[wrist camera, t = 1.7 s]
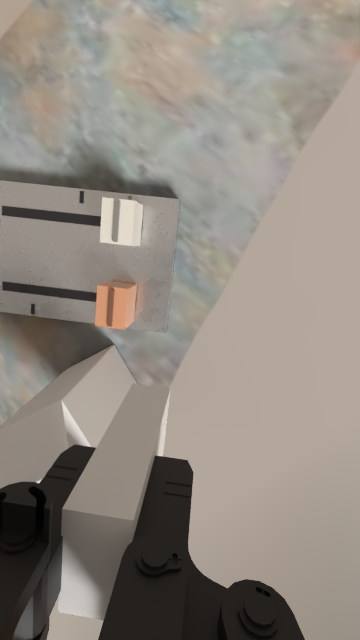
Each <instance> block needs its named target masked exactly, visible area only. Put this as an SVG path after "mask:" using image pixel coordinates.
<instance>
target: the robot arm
mask: <svg viewBox="0 0 360 640" xmlns="http://www.w3.org/2000/svg"><path fill="white" fill-rule="evenodd" d="M169 396H170V389H169V388H162V387H154V386H147V385H140V384H132V386H131V387H130V389H129V391H128V393H127V394H126V396H125V398H124V400H123V402H122V403H121V405H120V407H119V409H118V410H117V412H116V414H115V416H114V418H113V419H112V421H111V423H110V425H109V426H108V428H107V430H106V432H105V433H104V435H103V437H102V439H101V441H100V442H99V444H98V446H97V448H95V447H88V446H82V445H75V444H74V445H73V446H71V447H70V448H68V449H67V450H65V451H64V452H62V453H61V454H60V455H59V456H58V458H57V459H56V461H55V462H54V463H53V465H52V467H51V468H50V469H49V470H48V472H47V473H46V475H45V477H43V479H42V480H41V482H40V483H36V482H18V483H14V484H9V485H7V486H5V487H3V488H1V489H0V640H46V639H47V635H48V631H49V616H50V614H51V611H52V609H53V607H54V605H55V602H56V600H57V598H58V595H59V604H58V612H61V613H67V614H72V615H78V616H84V617H89V618H94V619H100V620H104V622H103V625H102V629H101V632H100V636H99V639H98V640H305V639H304V637H303V635H302V632H301V630H300V628H299V625H298V623H297V621H296V619H295V616H294V614H293V612H292V610H291V609H290V607H289V606H288V604H287V602H286V601H285V599H284V598H283V597H282V596H281V595H280V594H279V593H277V592H276V591H275V590H274V589H273V588H272V587H270V586H268V585H266V584H264V583H262V582H260V581H254V580H242V581H239V582H235V583H233V584H232V585H231V586H230V587H229V588H228V589H227V588H225V587H223V586H221V585H220V584H218V583H216V582H214V581H212V580H211V579H209V578H207V577H206V576H204V575H203V574H202V573H201V572H200V571H199V570H198V569H197V568H196V566H195V565H194V563H193V562H192V560H191V557H190V554H189V551H188V533H189V521H190V509H191V496H192V483H193V471H192V469H191V467H190V465H189V463H188V461H187V460H182V459H175V458H169V457H162V455H163V451H164V442H165V433H166V424H167V415H168V406H169Z"/></svg>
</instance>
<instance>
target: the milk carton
mask: <svg viewBox="0 0 360 640" xmlns="http://www.w3.org/2000/svg"><path fill="white" fill-rule="evenodd" d="M132 384H137V383H136V381H135V379H134V378H133V376H132V374H131V372H130V371H129V369H128V367H127V366H126V364H125V362H124V361H123V359H122V357H121V356H120V354H119V352H118V351H117V349H116V347H115V346H114V345H112V346H110V347H108V348H106V349H104V350H102V351H100V352H98V353H96V354H94V355H93V356H91V357H89V358H87V359H85V360H83V361H81V362H79V363H77V364H75V365H73V366H72V367H70V368H68V369H66V370H65V371H64V372H63V373H61V374H60V375H59V376H58V377H57V378H56V379H54V380H53V381H52V382H51V383H50V384H49V385H48V386H46V387H45V388H44V389H43V390H42V391H41V392H39V393H38V394H37V395H36V396H35V397H34V398H33V399H31V400H30V401H29V402H28V403H27V404H26V405H24V406H23V407H22V408H21V409H20V410H19V411H18V412H16V413H15V414H14V415H13V416H12V417H11V418H9V419H8V420H7V421H6V422H5V423H4V424H2V425H1V426H0V489H1V488H3V487H5V486H7V485H9V484H14V483H18V482H36V483H40V482H41V480H42V479H43V477H45V475H46V473H47V472H48V470H49V469H50V468H51V467H52V465H53V463H54V462H55V461H56V459H57V458H58V456H59V455H60V454H61V453H62V452H64V451H65V450H67V449H68V448H70V447H71V446H73V445H74V444H75V445H82V446H88V447H95V448H97V446H98V444H99V442H100V441H101V439H102V437H103V435H104V433H105V432H106V430H107V428H108V426H109V425H110V423H111V421H112V419H113V418H114V416H115V414H116V412H117V410H118V409H119V407H120V405H121V403H122V402H123V400H124V398H125V396H126V394H127V393H128V391H129V389H130V387H131V386H132Z"/></svg>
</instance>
